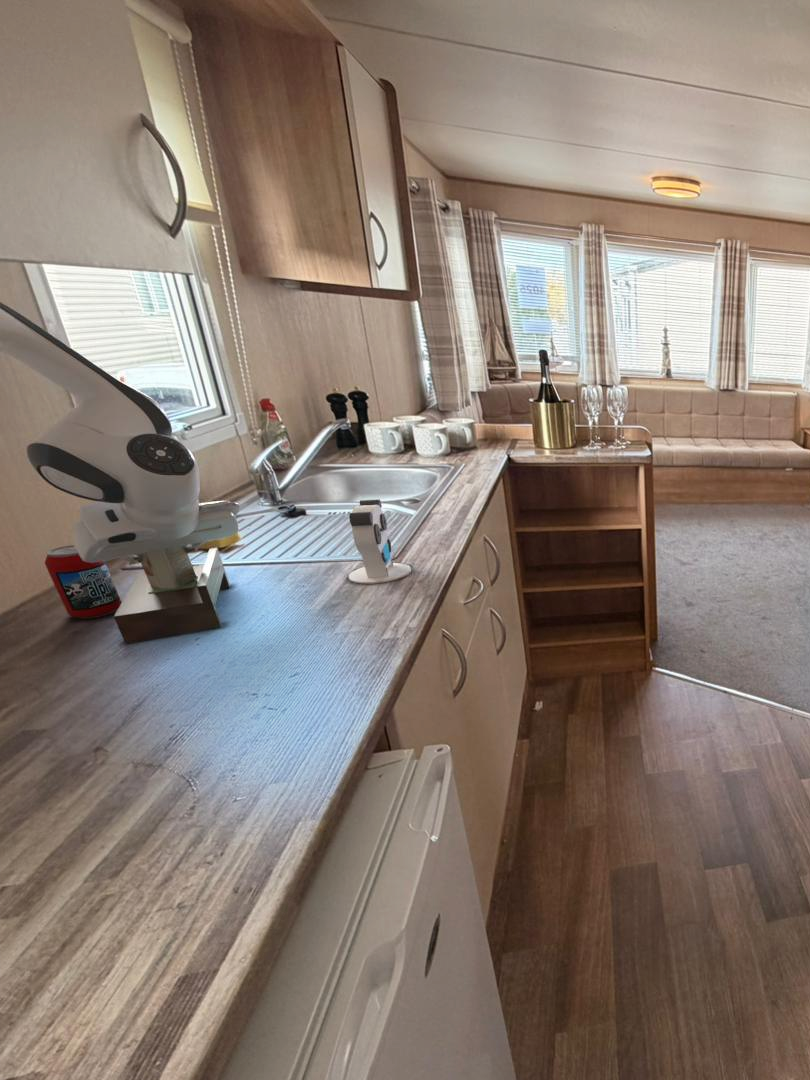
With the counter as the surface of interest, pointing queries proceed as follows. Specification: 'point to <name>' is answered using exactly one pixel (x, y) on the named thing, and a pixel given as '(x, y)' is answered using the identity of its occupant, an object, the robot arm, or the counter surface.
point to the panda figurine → (373, 545)
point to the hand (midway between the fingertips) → (162, 555)
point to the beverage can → (82, 584)
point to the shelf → (173, 604)
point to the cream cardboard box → (168, 568)
